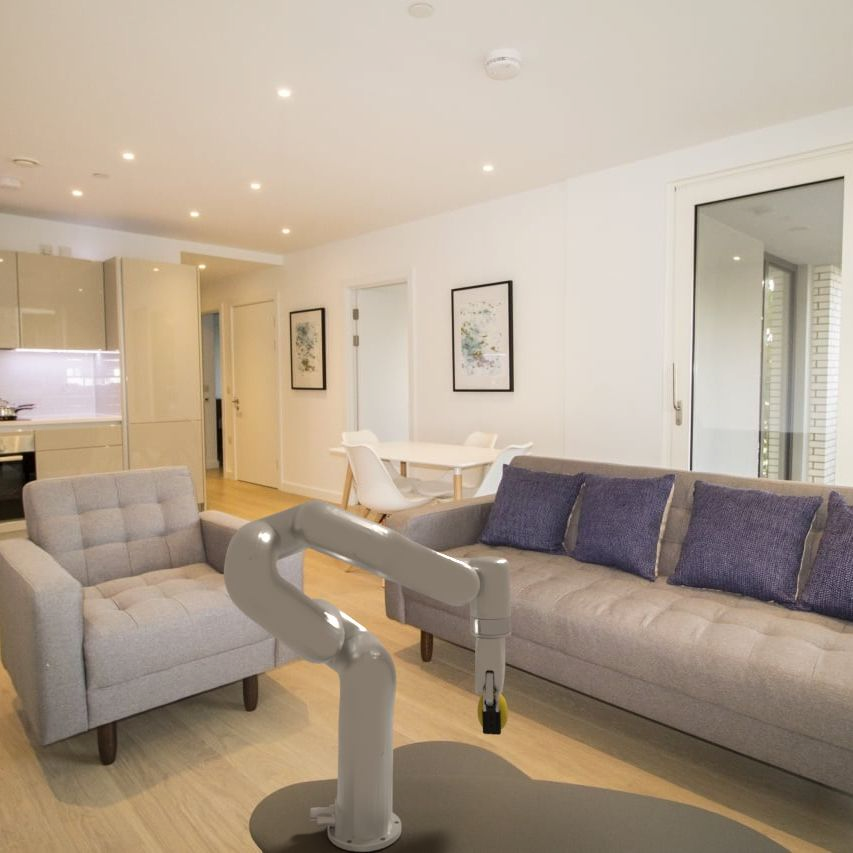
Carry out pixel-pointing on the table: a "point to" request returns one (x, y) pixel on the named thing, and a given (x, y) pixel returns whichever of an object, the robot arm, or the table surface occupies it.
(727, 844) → the table surface
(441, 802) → the table surface
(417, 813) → the table surface
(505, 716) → the lemon
